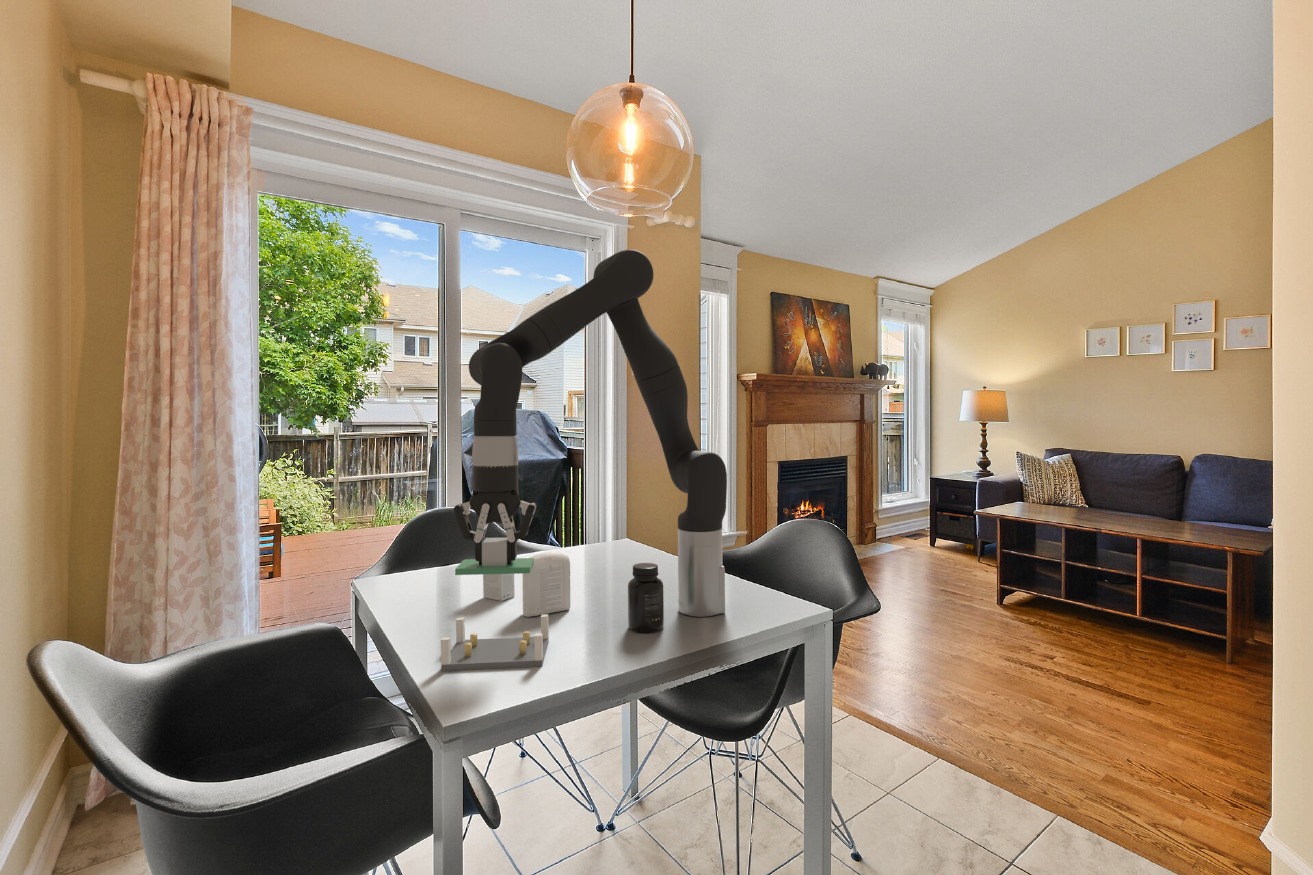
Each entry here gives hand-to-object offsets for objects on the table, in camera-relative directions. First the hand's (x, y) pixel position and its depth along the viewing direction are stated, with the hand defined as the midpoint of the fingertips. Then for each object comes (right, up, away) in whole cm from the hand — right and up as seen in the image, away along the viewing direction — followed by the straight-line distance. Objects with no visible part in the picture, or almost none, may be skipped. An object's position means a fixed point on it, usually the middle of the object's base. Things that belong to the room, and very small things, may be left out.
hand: (495, 562), depth 103 cm
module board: (0, -1, 0) cm, 1 cm away
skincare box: (-8, -15, +35) cm, 39 cm away
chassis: (0, -16, 0) cm, 16 cm away
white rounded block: (+4, -15, +24) cm, 29 cm away
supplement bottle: (+25, -15, +13) cm, 33 cm away
